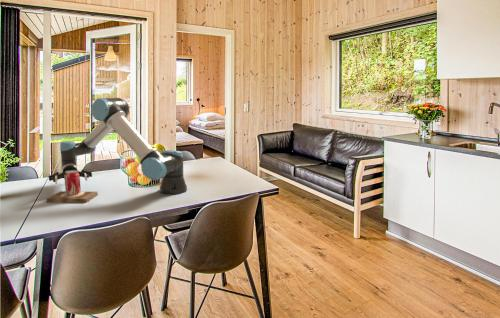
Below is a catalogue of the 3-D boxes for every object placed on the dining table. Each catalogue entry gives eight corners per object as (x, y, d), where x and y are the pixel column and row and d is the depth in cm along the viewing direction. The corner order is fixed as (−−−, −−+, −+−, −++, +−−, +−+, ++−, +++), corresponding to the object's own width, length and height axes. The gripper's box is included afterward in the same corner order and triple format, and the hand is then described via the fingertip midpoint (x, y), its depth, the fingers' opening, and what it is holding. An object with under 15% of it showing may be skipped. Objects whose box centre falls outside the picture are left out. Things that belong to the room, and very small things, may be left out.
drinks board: (97, 195, 188) (97, 190, 187) (86, 202, 175) (85, 197, 175) (60, 194, 188) (60, 190, 187) (46, 202, 175) (46, 197, 175)
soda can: (63, 194, 181) (61, 171, 178) (76, 191, 186) (75, 169, 184) (70, 196, 176) (67, 173, 174) (83, 193, 182) (81, 171, 180)
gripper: (94, 175, 202) (98, 183, 183) (45, 180, 190) (43, 189, 171) (93, 162, 200) (97, 169, 182) (43, 166, 188) (42, 174, 170)
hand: (71, 179), depth 177 cm, fingers open, 13 cm apart
